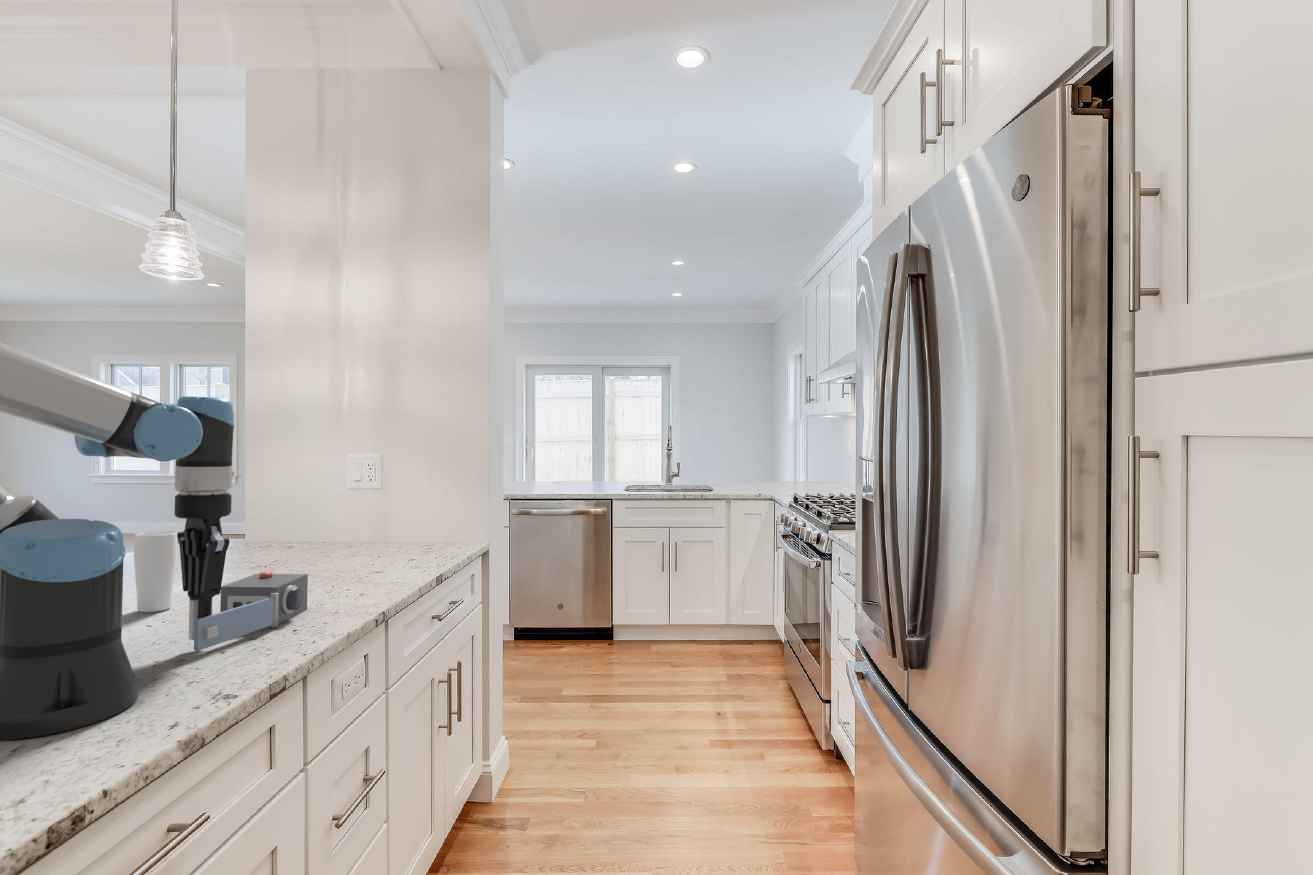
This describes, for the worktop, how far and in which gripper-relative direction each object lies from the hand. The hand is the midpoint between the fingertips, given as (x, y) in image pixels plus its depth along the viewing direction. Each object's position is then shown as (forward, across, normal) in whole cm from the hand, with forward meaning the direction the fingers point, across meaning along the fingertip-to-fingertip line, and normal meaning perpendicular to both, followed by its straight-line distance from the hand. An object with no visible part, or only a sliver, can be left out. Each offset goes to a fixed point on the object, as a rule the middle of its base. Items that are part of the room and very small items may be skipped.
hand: (200, 637), depth 103 cm
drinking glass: (+2, +32, -5) cm, 32 cm away
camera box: (+2, +10, -15) cm, 18 cm away
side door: (+2, -1, -6) cm, 6 cm away
